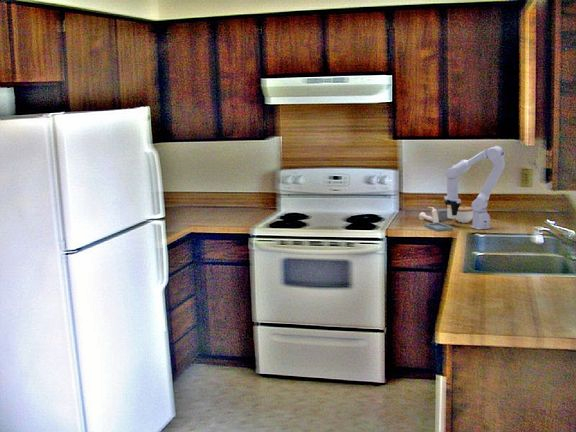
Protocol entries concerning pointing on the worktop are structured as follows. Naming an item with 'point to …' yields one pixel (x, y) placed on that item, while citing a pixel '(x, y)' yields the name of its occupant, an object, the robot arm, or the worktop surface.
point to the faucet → (433, 218)
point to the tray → (438, 226)
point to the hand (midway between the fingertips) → (452, 214)
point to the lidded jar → (464, 214)
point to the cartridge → (450, 213)
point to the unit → (443, 215)
